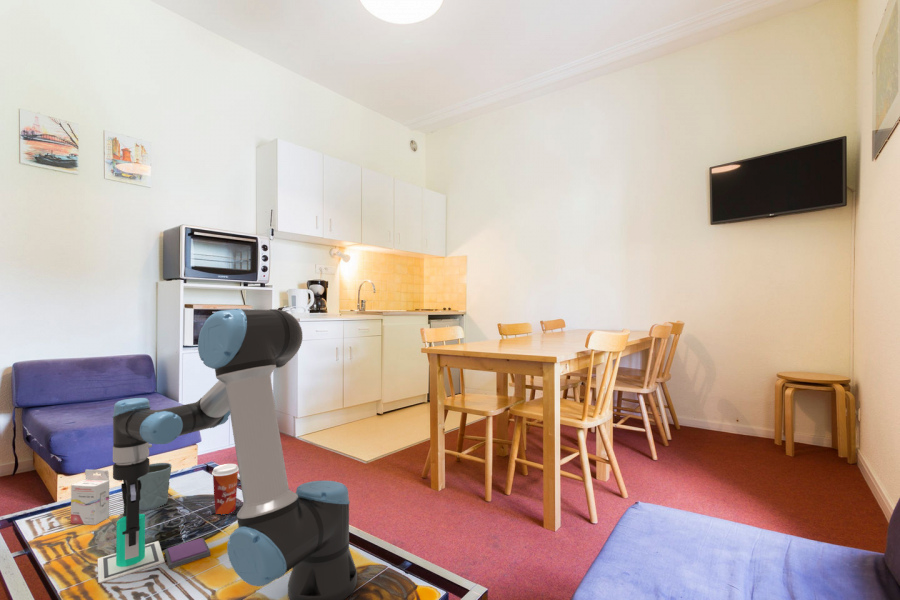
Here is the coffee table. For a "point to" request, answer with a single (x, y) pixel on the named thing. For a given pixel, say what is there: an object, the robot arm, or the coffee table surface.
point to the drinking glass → (155, 486)
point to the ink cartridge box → (90, 498)
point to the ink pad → (186, 552)
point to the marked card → (112, 571)
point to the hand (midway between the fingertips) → (130, 552)
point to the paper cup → (225, 488)
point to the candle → (121, 542)
